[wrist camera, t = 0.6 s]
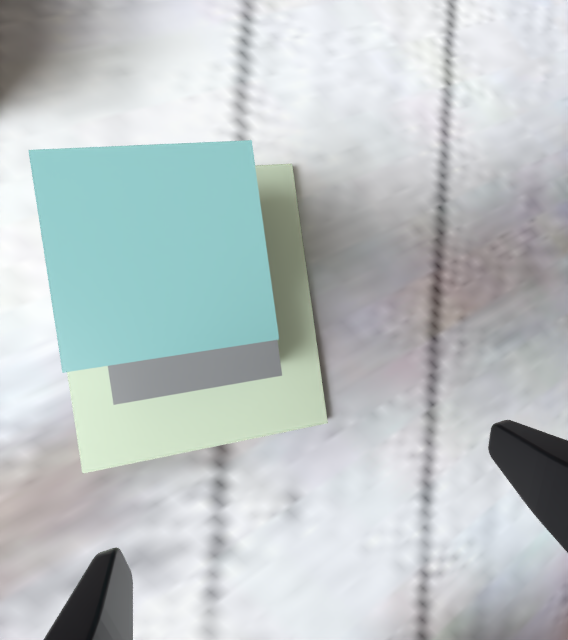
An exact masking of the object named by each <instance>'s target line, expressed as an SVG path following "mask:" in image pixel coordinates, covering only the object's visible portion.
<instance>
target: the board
mask: <svg viewBox="0 0 568 640" xmlns="http://www.w3.org/2000/svg"><path fill="white" fill-rule="evenodd" d="M255 169H256V176H257V183H258V190H259V198H260V205H261V212H262V219H263V226H264V233H265V241H266V248H267V255H268V262H269V269H270V277H271V284H272V291H273V298H274V305H275V312H276V320H277V327H278V334H279V340H277V341H278V348H279V355H280V363H281V370H282V376H277V377H271V378H266V379H260V380H254V381H248V382H243V383H237V384H231V385H225V386H220V387H214V388H208V389H202V390H197V391H191V392H185V393H179V394H174V395H168V396H162V397H156V398H151V399H145V400H139V401H133V402H128V403H122V404H116V405H113V398H112V391H111V385H110V378H109V371H108V366H103V367H97V368H90V369H84V370H77V371H71V372H67V375H68V381H69V388H70V394H71V401H72V407H73V414H74V420H75V427H76V433H77V440H78V447H79V453H80V460H81V466H82V473H87V472H92V471H97V470H102V469H107V468H112V467H117V466H122V465H126V464H131V463H136V462H141V461H146V460H151V459H156V458H161V457H165V456H170V455H175V454H180V453H185V452H190V451H195V450H200V449H204V448H209V447H214V446H219V445H224V444H229V443H234V442H239V441H243V440H248V439H253V438H258V437H263V436H268V435H273V434H278V433H282V432H287V431H292V430H297V429H302V428H307V427H312V426H317V425H321V424H326V423H328V422H327V415H326V407H325V400H324V393H323V385H322V378H321V371H320V364H319V356H318V349H317V342H316V334H315V327H314V320H313V312H312V305H311V298H310V291H309V283H308V276H307V269H306V261H305V254H304V247H303V239H302V232H301V225H300V218H299V210H298V203H297V196H296V188H295V181H294V174H293V166H292V164H277V165H259V166H255Z"/></svg>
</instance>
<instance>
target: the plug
mask: <svg viewBox="0 0 568 640" xmlns="http://www.w3.org/2000/svg"><path fill="white" fill-rule="evenodd" d="M29 156H30V163H31V169H32V176H33V182H34V189H35V195H36V202H37V208H38V215H39V221H40V228H41V235H42V241H43V248H44V254H45V261H46V267H47V274H48V280H49V287H50V293H51V300H52V306H53V313H54V319H55V326H56V332H57V339H58V346H59V352H60V359H61V365H62V372H63V373H64V372H71V371H77V370H84V369H90V368H97V367H103V366H110V365H116V364H123V363H129V362H136V361H142V360H149V359H155V358H162V357H168V356H175V355H181V354H188V353H194V352H201V351H207V350H214V349H220V348H227V347H233V346H240V345H246V344H253V343H259V342H266V341H273V340H279V334H278V327H277V320H276V312H275V305H274V298H273V291H272V284H271V277H270V269H269V262H268V255H267V248H266V241H265V233H264V226H263V219H262V212H261V205H260V198H259V190H258V183H257V176H256V169H255V162H254V154H253V147H252V140H248V141H226V142H203V143H180V144H157V145H134V146H111V147H88V148H65V149H42V150H29Z"/></svg>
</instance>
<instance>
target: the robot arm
mask: <svg viewBox="0 0 568 640" xmlns="http://www.w3.org/2000/svg"><path fill="white" fill-rule="evenodd" d="M488 449H489V453H490V455H491V457H492V459H493V460H494V462H495V463H496V464H497V466H498V467H499V468H500V470H501V471H502V472H503V474H504V475H505V476H506V478H507V479H508V480H509V482H510V483H511V484H512V486H513V487H514V488H515V490H516V491H517V493H518V494H519V495H520V497H521V498H522V499H523V501H524V502H525V503H526V505H527V506H528V507H529V508H530V510H531V511H532V512H533V513H534V515H535V516H536V517H537V518H538V519H539V521H540V522H541V523H542V524H543V525H544V526H545V528H546V529H547V530H548V531H549V532H550V533H551V534H552V535H553V537H554V538H555V539H556V540H557V541H558V542H559V543H560V544H561V546H562V547H563V548H564V549H565V550H566V551H567V552H568V441H567V440H564V439H561V438H559V437H556V436H553V435H550V434H547V433H545V432H542V431H539V430H536V429H534V428H531V427H528V426H525V425H522V424H520V423H517V422H514V421H511V420H504V421H501V422H498V423H495V424H493V426H492V427H491V433H490V440H489V447H488ZM44 640H133V580H132V574H131V570H130V568H129V566H128V564H127V562H126V560H125V558H124V556H123V554H122V552H121V550H120V549H119V548H112V549H109V550H106V551H103V552H100V553H98V554H97V555H96V556H95V557H94V559H93V560H92V562H91V563H90V565H89V567H88V568H87V570H86V572H85V573H84V575H83V576H82V578H81V580H80V581H79V583H78V585H77V586H76V588H75V589H74V591H73V593H72V594H71V596H70V598H69V599H68V601H67V603H66V604H65V606H64V607H63V609H62V611H61V612H60V614H59V616H58V617H57V619H56V620H55V622H54V624H53V625H52V627H51V629H50V630H49V632H48V634H47V635H46V637H45V638H44Z"/></svg>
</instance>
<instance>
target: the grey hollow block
mask: <svg viewBox="0 0 568 640" xmlns="http://www.w3.org/2000/svg"><path fill="white" fill-rule="evenodd" d="M108 371H109V378H110V385H111V391H112V398H113V405H116V404H122V403H128V402H133V401H139V400H145V399H151V398H156V397H162V396H168V395H174V394H179V393H185V392H191V391H197V390H202V389H208V388H214V387H220V386H225V385H231V384H237V383H243V382H248V381H254V380H260V379H266V378H271V377H277V376H282V370H281V363H280V355H279V348H278V341H277V340H273V341H266V342H259V343H253V344H246V345H240V346H233V347H227V348H220V349H214V350H207V351H201V352H194V353H188V354H181V355H175V356H168V357H162V358H155V359H149V360H142V361H136V362H129V363H123V364H116V365H110V366H108Z"/></svg>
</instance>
